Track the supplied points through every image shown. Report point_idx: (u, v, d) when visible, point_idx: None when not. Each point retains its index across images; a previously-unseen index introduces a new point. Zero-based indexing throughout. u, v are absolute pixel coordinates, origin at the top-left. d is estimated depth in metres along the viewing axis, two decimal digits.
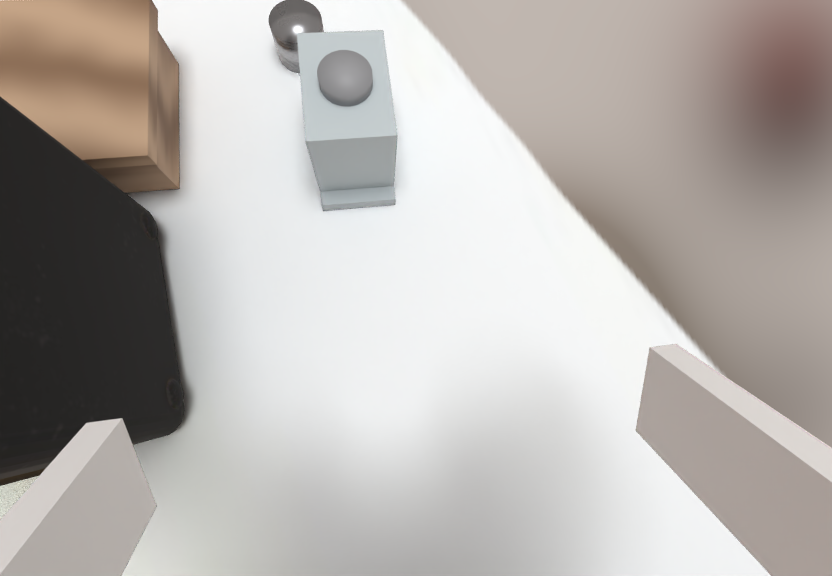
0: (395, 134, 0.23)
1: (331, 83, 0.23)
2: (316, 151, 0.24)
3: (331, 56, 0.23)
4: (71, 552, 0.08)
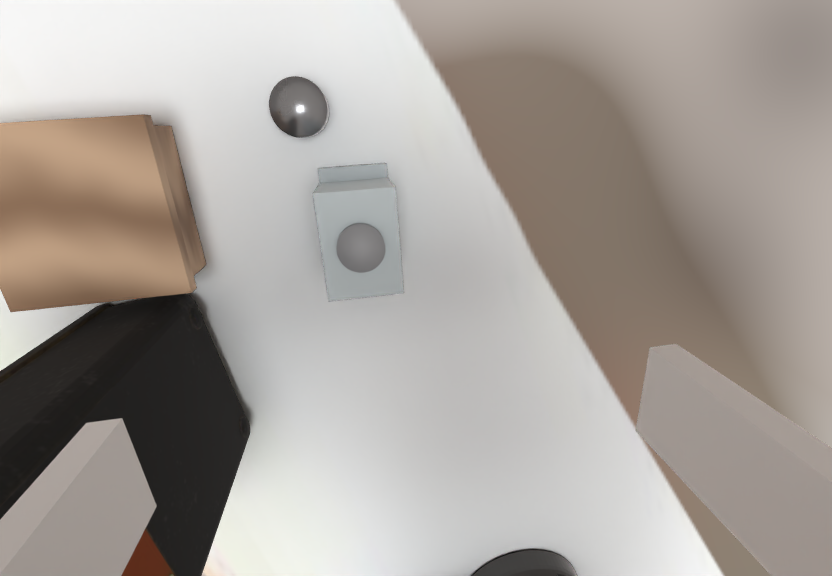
0: (402, 292, 0.28)
1: (349, 260, 0.26)
2: None
3: (348, 232, 0.25)
4: (70, 552, 0.08)
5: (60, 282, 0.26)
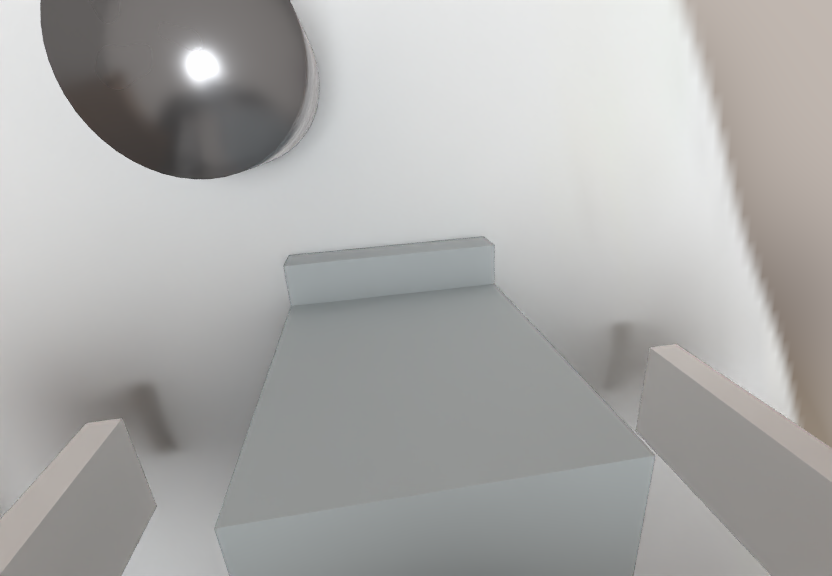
0: None
1: None
2: None
3: None
4: (70, 552, 0.08)
5: None
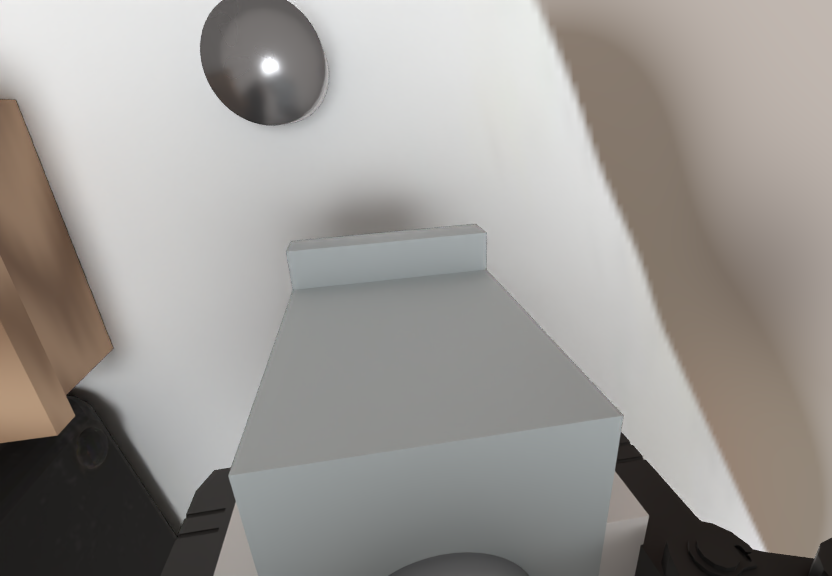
0: None
1: None
2: None
3: None
4: None
5: None
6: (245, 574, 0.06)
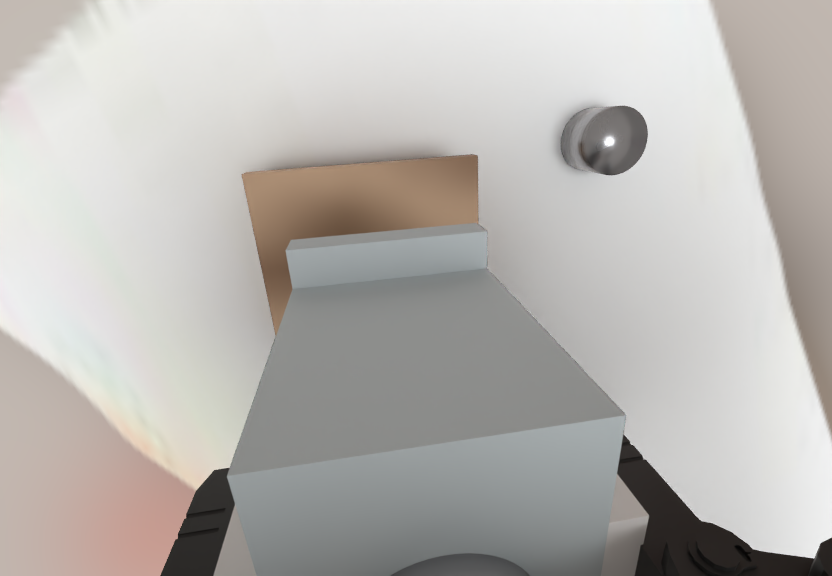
0: None
1: None
2: None
3: None
4: None
5: None
6: (245, 574, 0.06)
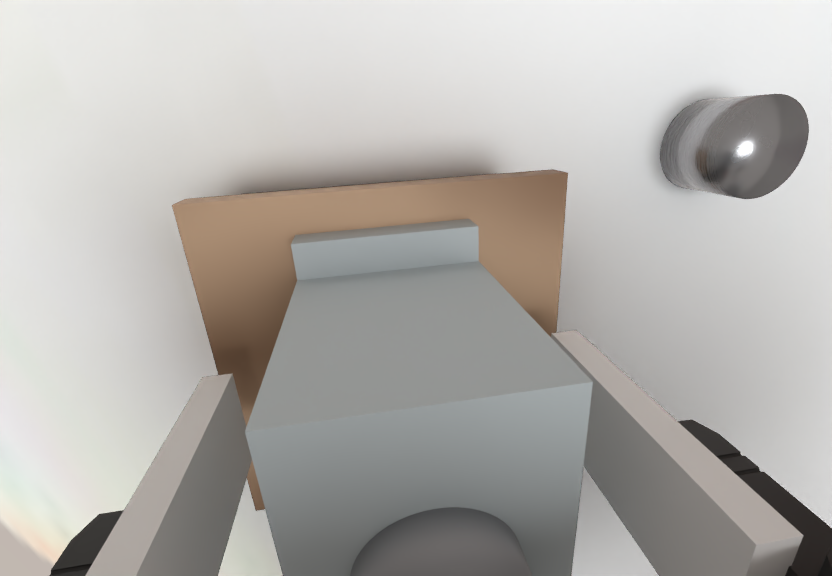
0: None
1: None
2: None
3: None
4: (213, 475, 0.09)
5: None
6: None
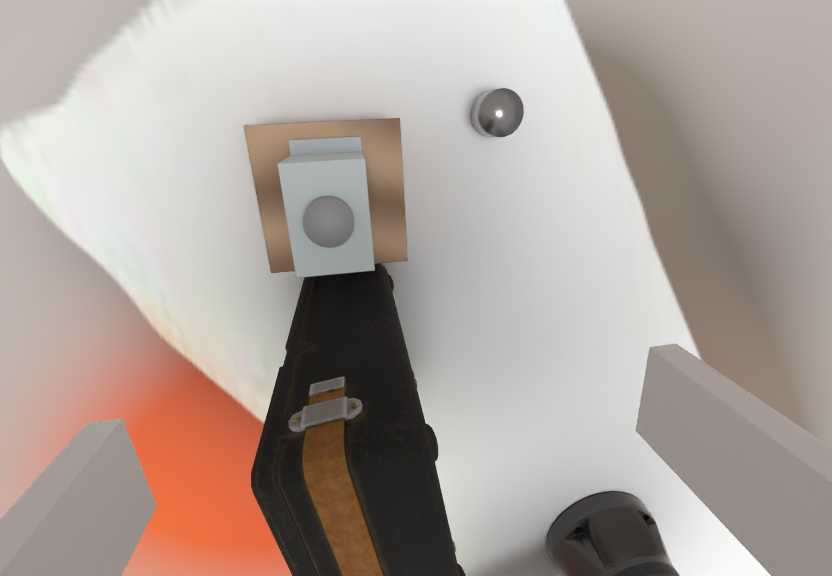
0: (373, 269, 0.27)
1: (316, 234, 0.25)
2: None
3: (314, 205, 0.24)
4: (70, 552, 0.07)
5: None
6: None
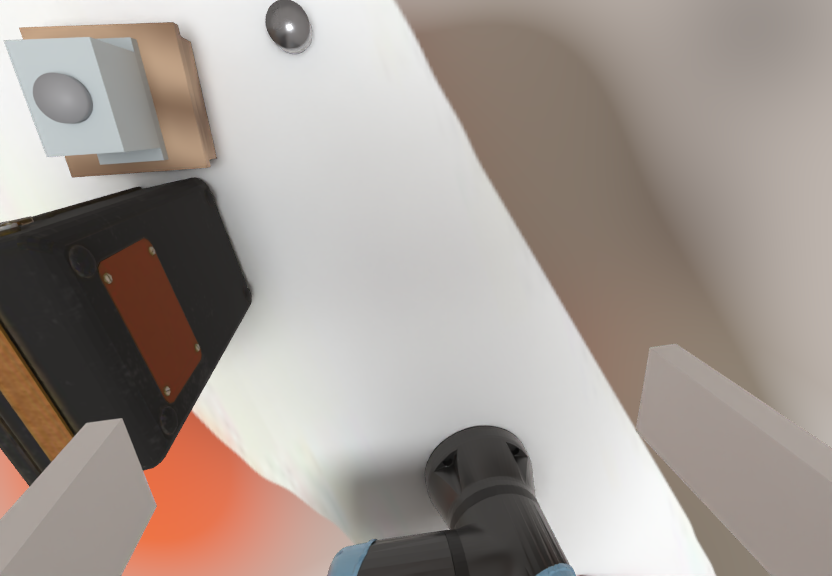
0: (122, 151, 0.29)
1: (50, 109, 0.27)
2: None
3: (41, 79, 0.26)
4: (70, 552, 0.08)
5: None
6: None
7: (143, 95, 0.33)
